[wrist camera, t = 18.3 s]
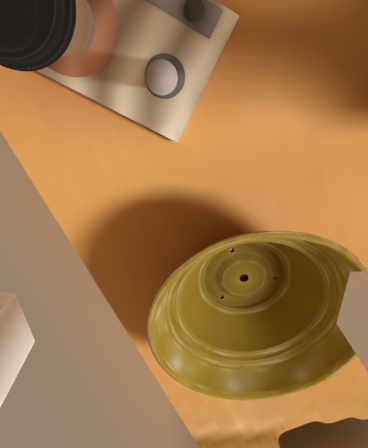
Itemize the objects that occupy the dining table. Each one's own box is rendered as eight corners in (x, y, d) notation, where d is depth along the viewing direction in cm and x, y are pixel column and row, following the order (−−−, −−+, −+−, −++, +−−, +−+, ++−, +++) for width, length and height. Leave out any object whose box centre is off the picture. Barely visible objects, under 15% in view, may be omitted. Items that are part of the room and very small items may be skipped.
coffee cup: (90, -45, 30) (20, -136, 17) (123, 56, 34) (90, 48, 21) (9, -14, 31) (-117, -76, 18) (51, 80, 35) (-24, 87, 22)
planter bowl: (115, 270, 51) (97, 331, 39) (265, 147, 41) (301, 177, 29) (226, 357, 62) (238, 424, 51) (363, 277, 53) (417, 335, 41)
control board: (237, 18, 34) (263, -6, 24) (177, 140, 41) (178, 163, 30) (48, -107, 29) (-21, -205, 19) (14, 57, 35) (-51, 50, 25)
